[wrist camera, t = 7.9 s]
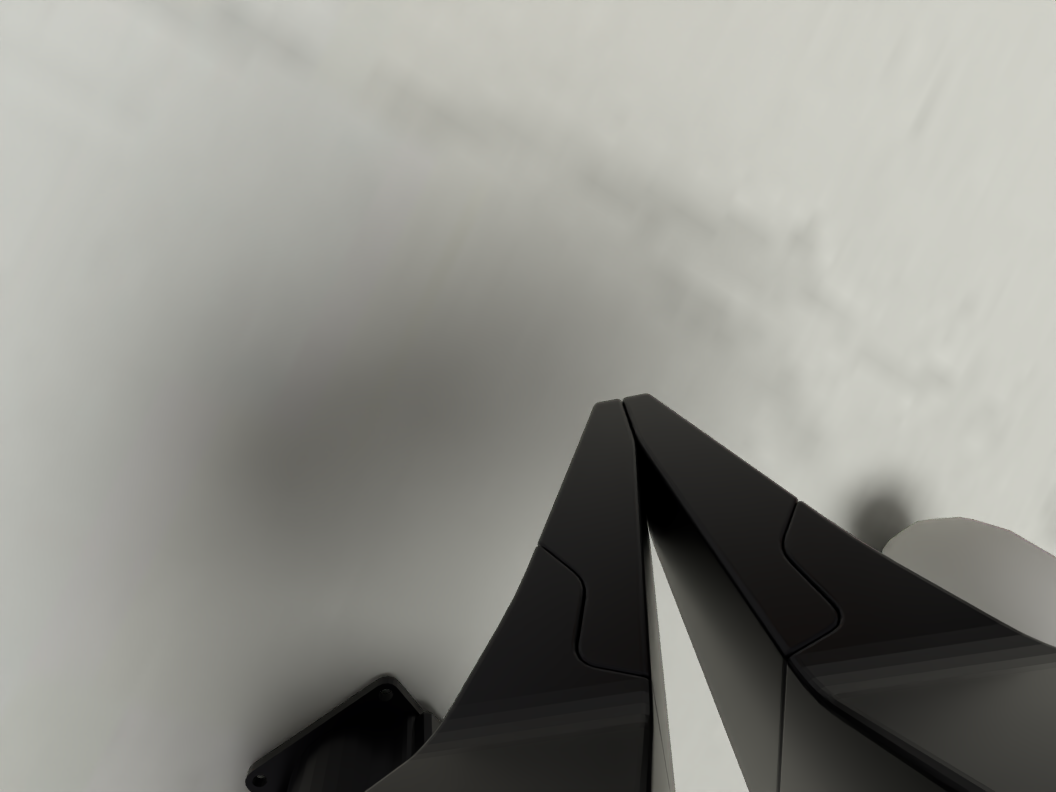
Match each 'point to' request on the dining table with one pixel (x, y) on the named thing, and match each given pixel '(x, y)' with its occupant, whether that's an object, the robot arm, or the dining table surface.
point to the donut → (984, 570)
